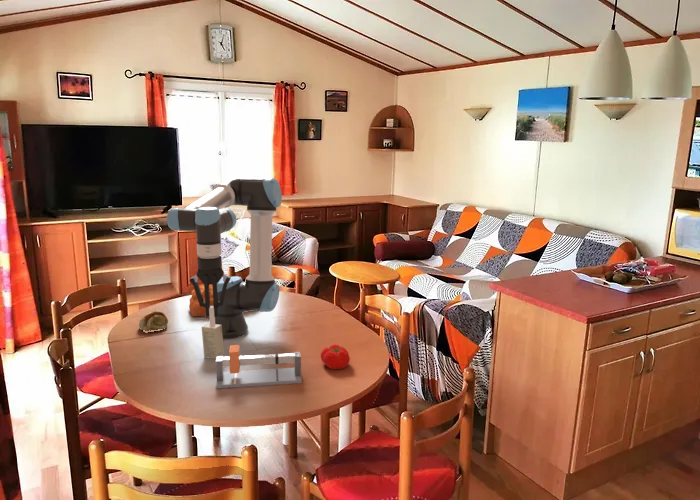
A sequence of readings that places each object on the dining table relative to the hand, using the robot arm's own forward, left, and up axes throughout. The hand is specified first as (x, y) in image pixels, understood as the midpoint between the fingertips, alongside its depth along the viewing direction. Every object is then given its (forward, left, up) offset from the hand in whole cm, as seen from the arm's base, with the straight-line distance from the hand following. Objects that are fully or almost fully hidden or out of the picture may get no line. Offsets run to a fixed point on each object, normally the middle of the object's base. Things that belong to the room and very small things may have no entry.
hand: (212, 326), depth 177 cm
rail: (+12, +9, -20) cm, 25 cm away
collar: (+5, +4, -16) cm, 17 cm away
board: (+12, +9, -20) cm, 25 cm away
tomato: (+30, +30, -20) cm, 47 cm away
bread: (-45, +61, -20) cm, 78 cm away
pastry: (-56, +28, -20) cm, 66 cm away
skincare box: (-14, +16, -20) cm, 29 cm away
